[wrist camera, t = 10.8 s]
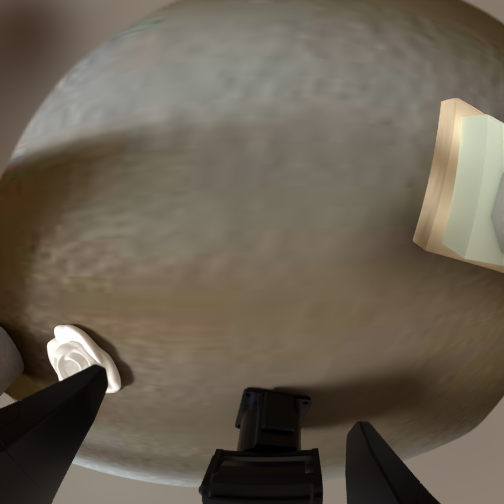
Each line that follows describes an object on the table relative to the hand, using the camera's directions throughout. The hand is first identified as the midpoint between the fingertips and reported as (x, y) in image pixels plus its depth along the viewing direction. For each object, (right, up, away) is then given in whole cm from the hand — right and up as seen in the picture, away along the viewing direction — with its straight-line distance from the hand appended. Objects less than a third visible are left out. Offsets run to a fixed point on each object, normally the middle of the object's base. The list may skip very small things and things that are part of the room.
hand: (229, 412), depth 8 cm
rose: (-18, -6, +18) cm, 26 cm away
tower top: (+19, +9, +7) cm, 22 cm away
